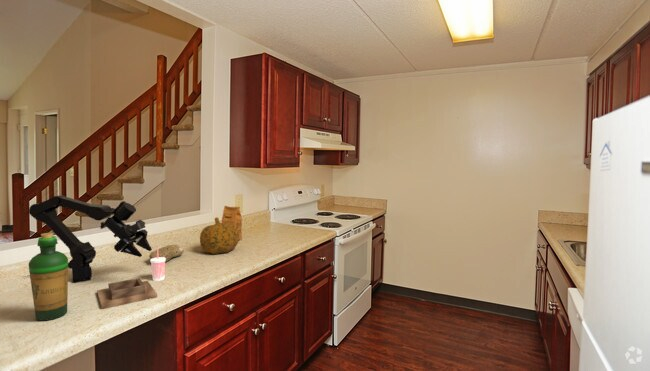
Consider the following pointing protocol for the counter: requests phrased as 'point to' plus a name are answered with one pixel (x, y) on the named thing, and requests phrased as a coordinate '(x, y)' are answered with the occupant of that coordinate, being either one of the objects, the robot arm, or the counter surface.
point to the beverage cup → (158, 267)
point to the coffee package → (233, 218)
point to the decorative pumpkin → (219, 238)
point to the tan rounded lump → (167, 252)
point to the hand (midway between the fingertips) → (146, 253)
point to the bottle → (49, 279)
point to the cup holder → (125, 293)
